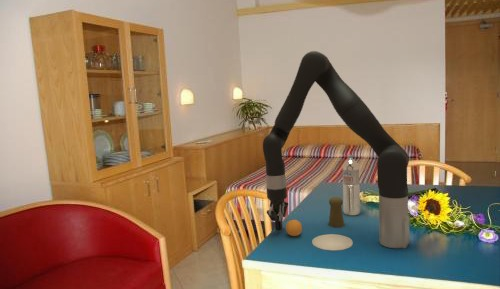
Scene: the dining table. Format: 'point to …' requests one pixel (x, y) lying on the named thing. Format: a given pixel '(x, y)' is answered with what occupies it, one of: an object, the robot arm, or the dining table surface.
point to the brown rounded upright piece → (336, 212)
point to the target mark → (332, 242)
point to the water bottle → (351, 187)
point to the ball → (293, 227)
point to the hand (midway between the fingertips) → (279, 229)
